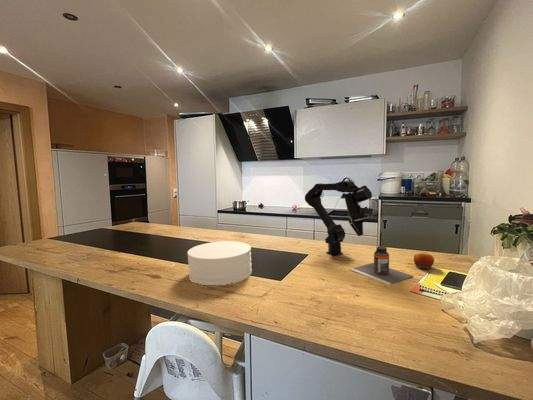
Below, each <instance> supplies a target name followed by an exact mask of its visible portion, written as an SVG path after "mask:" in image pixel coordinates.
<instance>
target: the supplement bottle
mask: <svg viewBox="0 0 533 400" xmlns="http://www.w3.org/2000/svg"><path fill="white" fill-rule="evenodd" d="M375 250H376V251H374V252H373V263H374V272H375V273H376V274H379V275H387V274H388V273H389V268H390V253H389V252H388V251H387V246H384V245H380V246H379V245H377V246H376V249H375Z"/></svg>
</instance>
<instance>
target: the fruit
mask: <svg viewBox="0 0 533 400" xmlns="http://www.w3.org/2000/svg"><path fill="white" fill-rule="evenodd" d="M413 263H414V265H415V267H417V268H418V269H427V270H428V271H430V270H429V269H431V268H432V267H433V265H434V263H435V258H434V256H433V255H432V254H430V253H428V252H424V251H423V252H421V251H420V252H417V253H415V254H414V255H413Z"/></svg>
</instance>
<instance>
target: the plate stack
mask: <svg viewBox="0 0 533 400" xmlns="http://www.w3.org/2000/svg"><path fill="white" fill-rule="evenodd" d="M251 251H252V247H251V245H250V244H248V243H246V242H241V241H233V240H232V241H231V240H227V241H226V240H223V241H214V242H212V241H211V242H207V243H202V244H198V245H195V246H193V247H191V248H190V249H189V250H187V263H188V264H187V266H188V277H189V278H190V279H191V280H192V281H193V282H196V283H199V284H203V285H223V286H227V285H226V284H229V285H232V284H231V283H233V284H236V282H237V283H240V282H241V281H244V280H246V279H249V277H250V276H251V275H252V272H253V269H252V252H251ZM189 278H188V279H189ZM190 279H189V280H190ZM192 281H191V282H192ZM193 282H192V283H193ZM203 285H202V286H203Z"/></svg>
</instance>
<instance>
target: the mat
mask: <svg viewBox="0 0 533 400" xmlns="http://www.w3.org/2000/svg"><path fill="white" fill-rule="evenodd" d="M349 271H352V272H354V273H357V274H359V275H362V276H364V277H367V278H370V279H372V280H374V281H376V282H379V283H382V284H384V285H386V286H390V285H393V284H396V283H399V282H402V281H405V280H409V279H410V278H413V277H414V275H412V274H409V273H406V272H402V271H399V270H397V269H394V268H391V267H389V273H388V274H387V275H379V274H376V273H375V272H374V262H371V263H366V264H364V265H360V266H356V267H353V268H349Z"/></svg>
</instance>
